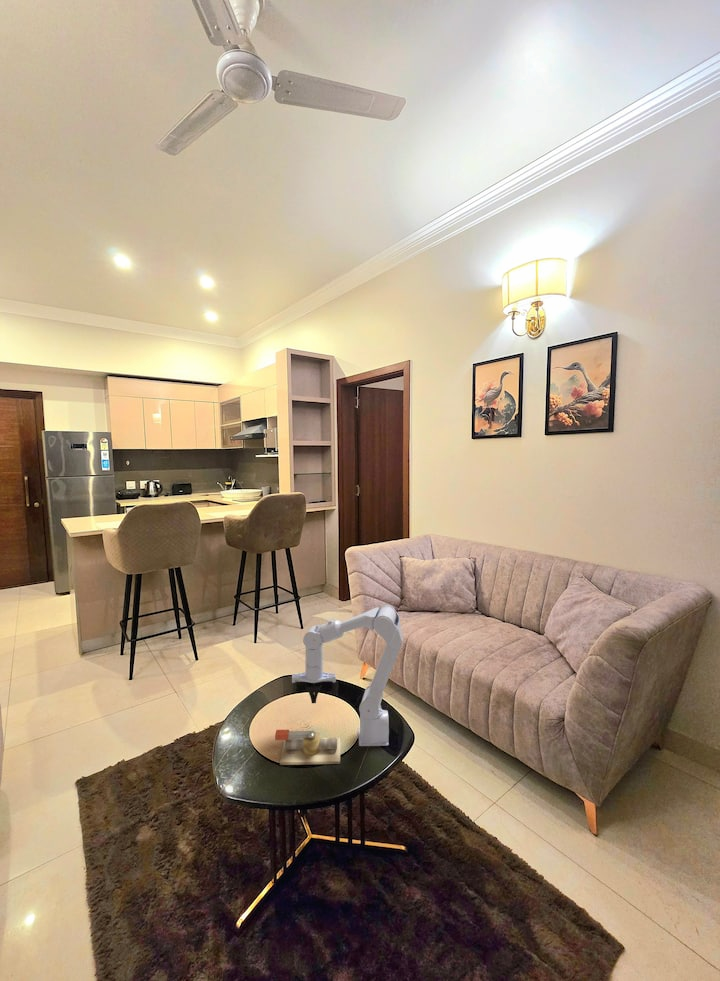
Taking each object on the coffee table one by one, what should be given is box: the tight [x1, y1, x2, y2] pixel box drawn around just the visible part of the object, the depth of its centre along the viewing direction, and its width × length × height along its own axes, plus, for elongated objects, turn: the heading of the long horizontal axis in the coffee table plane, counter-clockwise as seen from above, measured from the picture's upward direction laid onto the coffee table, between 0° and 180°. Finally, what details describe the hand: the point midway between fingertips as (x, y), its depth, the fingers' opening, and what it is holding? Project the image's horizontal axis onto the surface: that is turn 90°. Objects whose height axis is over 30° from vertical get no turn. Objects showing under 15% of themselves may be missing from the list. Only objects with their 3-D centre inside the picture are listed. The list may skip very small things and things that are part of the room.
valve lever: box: [274, 729, 316, 741], centre depth 124 cm, size 12×2×2 cm, turn 92°
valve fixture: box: [279, 731, 341, 766], centre depth 125 cm, size 18×10×5 cm, turn 93°
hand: (313, 701), depth 135 cm, fingers closed
